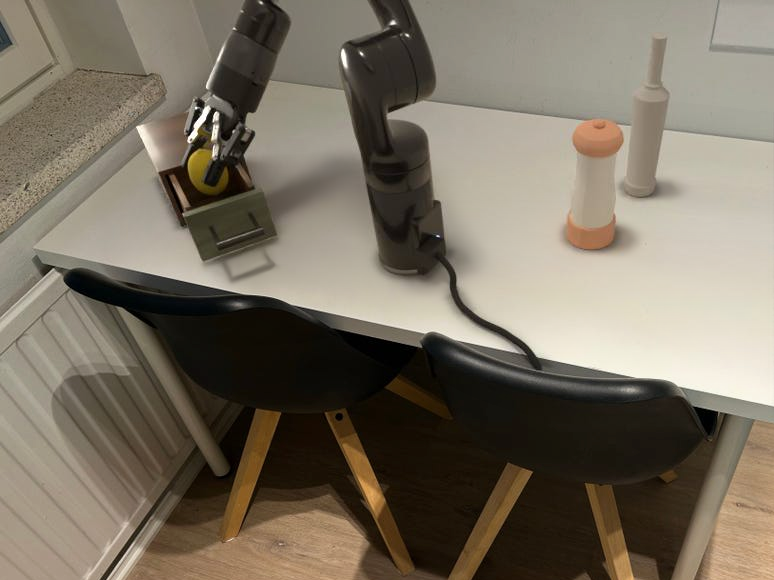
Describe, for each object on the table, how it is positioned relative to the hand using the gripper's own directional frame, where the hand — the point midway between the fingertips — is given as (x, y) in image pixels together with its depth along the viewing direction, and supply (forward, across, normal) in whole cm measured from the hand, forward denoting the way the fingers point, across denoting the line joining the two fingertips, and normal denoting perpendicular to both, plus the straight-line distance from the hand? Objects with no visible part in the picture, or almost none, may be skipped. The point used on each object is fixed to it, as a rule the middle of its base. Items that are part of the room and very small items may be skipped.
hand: (198, 176), depth 108 cm
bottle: (-31, +43, +46) cm, 70 cm away
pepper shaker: (-20, +45, +35) cm, 60 cm away
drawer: (+6, +3, +7) cm, 10 cm away
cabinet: (+4, -12, +11) cm, 17 cm away
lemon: (+2, 0, +4) cm, 5 cm away
